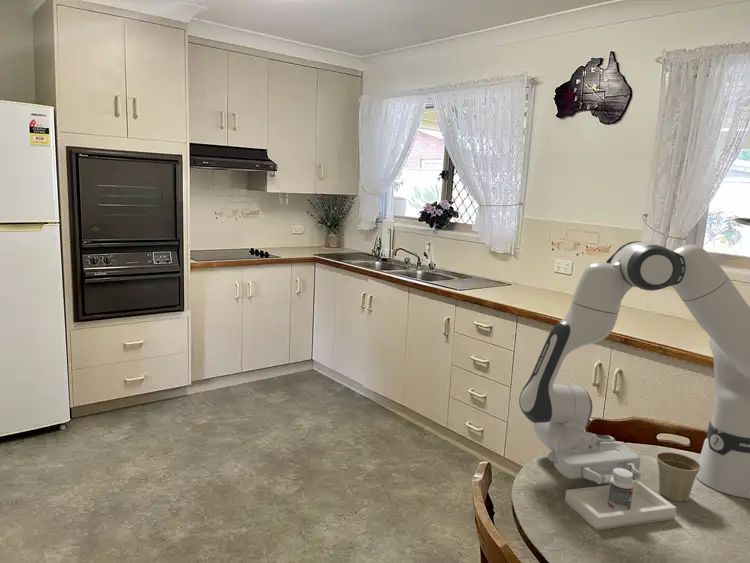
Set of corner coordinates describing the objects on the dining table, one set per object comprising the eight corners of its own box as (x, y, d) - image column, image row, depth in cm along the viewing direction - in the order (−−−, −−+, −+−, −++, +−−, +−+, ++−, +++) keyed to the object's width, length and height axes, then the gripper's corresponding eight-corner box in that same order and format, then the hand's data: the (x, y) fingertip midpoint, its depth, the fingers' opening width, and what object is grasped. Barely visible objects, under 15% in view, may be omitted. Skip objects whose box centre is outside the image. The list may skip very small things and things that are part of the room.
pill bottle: (632, 515, 120) (637, 479, 119) (609, 511, 121) (614, 475, 120) (627, 503, 125) (632, 468, 124) (605, 500, 126) (609, 465, 125)
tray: (637, 492, 131) (639, 481, 131) (674, 519, 121) (676, 507, 120) (564, 501, 125) (566, 490, 125) (597, 530, 115) (598, 517, 115)
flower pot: (645, 482, 136) (649, 449, 135) (685, 486, 135) (690, 453, 134) (660, 503, 127) (665, 468, 126) (703, 508, 126) (709, 472, 125)
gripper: (545, 441, 132) (582, 469, 119) (616, 435, 138) (659, 461, 125) (542, 466, 133) (578, 496, 120) (613, 459, 139) (655, 487, 126)
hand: (620, 478), depth 123 cm, fingers open, 8 cm apart
